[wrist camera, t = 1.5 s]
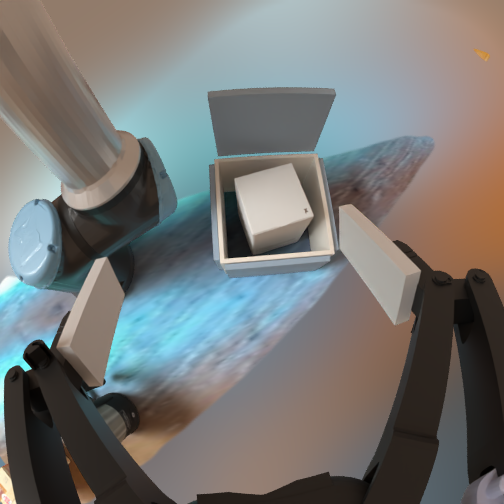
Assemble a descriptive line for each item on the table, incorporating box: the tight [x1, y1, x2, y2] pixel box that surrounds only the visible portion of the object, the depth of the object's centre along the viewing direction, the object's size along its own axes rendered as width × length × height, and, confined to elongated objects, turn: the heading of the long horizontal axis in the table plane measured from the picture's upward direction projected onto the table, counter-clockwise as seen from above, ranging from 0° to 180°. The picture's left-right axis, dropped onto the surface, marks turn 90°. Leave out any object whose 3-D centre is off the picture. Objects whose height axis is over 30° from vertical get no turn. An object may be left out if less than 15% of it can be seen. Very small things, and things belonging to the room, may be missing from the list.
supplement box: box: [234, 163, 314, 256], centre depth 47 cm, size 9×9×15 cm
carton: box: [209, 154, 339, 278], centre depth 48 cm, size 17×18×12 cm
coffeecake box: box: [0, 457, 71, 504], centre depth 32 cm, size 15×7×20 cm, turn 139°
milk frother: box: [81, 379, 139, 443], centre depth 39 cm, size 14×16×15 cm
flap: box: [208, 87, 336, 156], centre depth 37 cm, size 1×15×14 cm, turn 95°
